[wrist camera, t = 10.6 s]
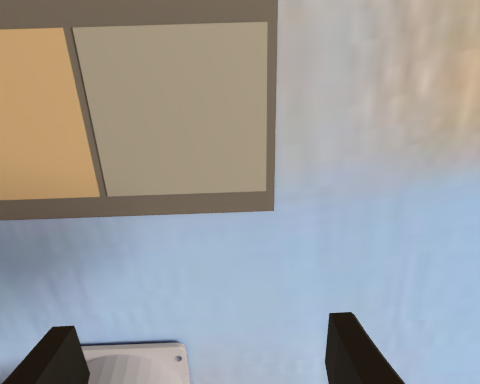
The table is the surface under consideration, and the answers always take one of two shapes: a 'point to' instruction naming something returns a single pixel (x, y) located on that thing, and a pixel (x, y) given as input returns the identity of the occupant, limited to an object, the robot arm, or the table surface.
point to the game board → (136, 107)
